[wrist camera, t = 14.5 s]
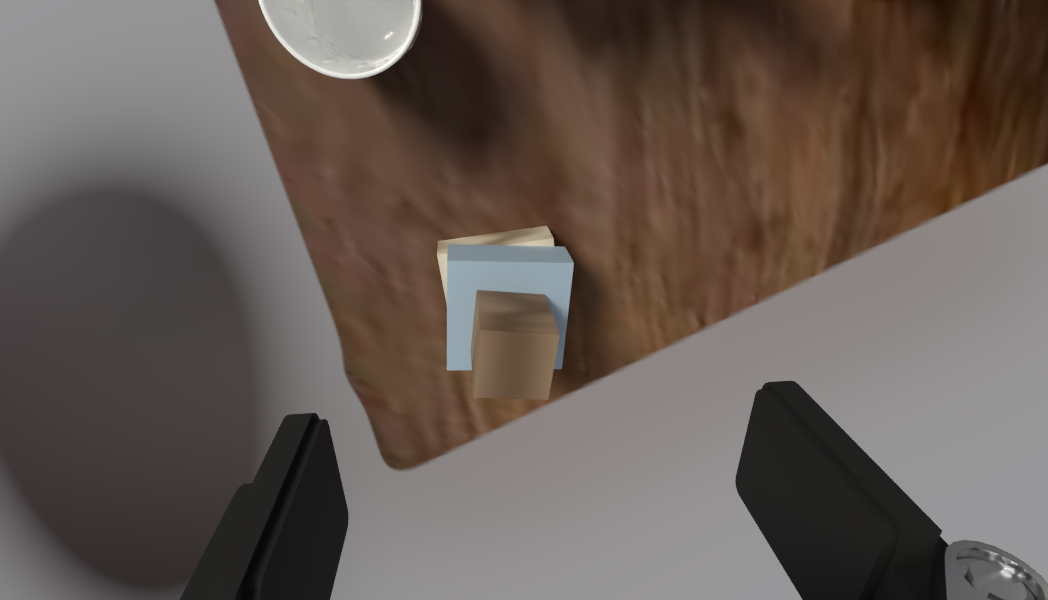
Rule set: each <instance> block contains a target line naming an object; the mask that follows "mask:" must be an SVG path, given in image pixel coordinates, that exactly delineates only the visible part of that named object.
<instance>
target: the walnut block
mask: <svg viewBox="0 0 1048 600" xmlns="http://www.w3.org/2000/svg"><path fill="white" fill-rule="evenodd" d="M559 338H560V333H559V330H558V328H557V325H556V323H555V320H554V317H553V315H552V312H551V309H550V307H549V304H548V302H547V299H546V296H545V294H530V293H515V292H501V291H486V290H477V292H476V302H475V311H474V321H473V331H472V341H471V365H472V382H473V397H477V398H507V399H537V400H548V398H549V393H550V387H551V382H552V376H553V371H554V365H555V360H556V354H557V349H558V343H559Z"/></svg>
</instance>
